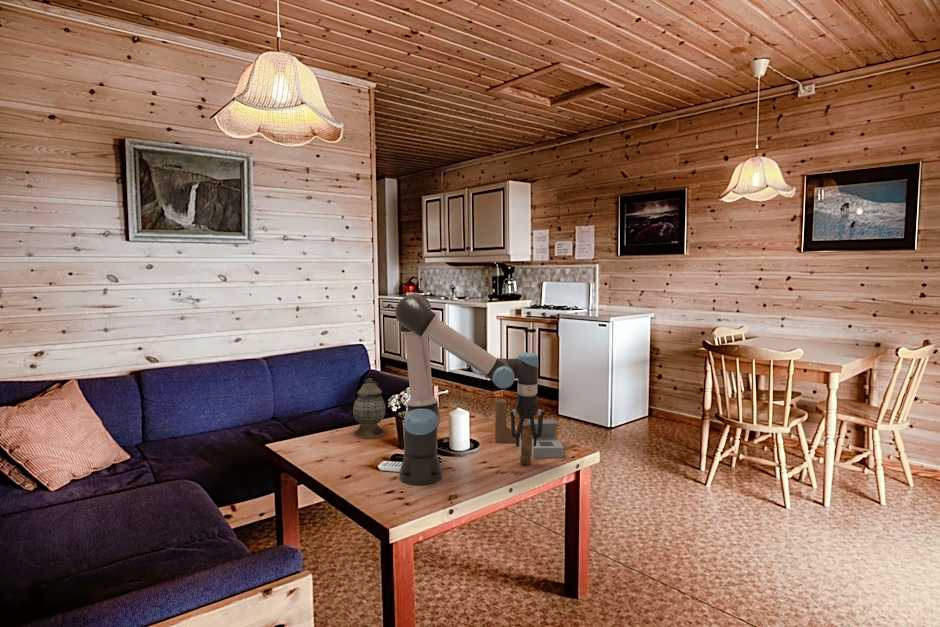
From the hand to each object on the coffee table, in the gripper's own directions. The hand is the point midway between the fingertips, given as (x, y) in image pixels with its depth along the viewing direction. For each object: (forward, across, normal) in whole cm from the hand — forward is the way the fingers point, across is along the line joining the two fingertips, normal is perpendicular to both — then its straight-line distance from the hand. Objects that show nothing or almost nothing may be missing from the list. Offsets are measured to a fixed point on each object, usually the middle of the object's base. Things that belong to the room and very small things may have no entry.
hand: (525, 454), depth 217 cm
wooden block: (+4, -4, +27) cm, 28 cm away
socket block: (+4, +10, +14) cm, 18 cm away
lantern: (+5, -63, +42) cm, 76 cm away
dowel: (+3, 0, 0) cm, 3 cm away
